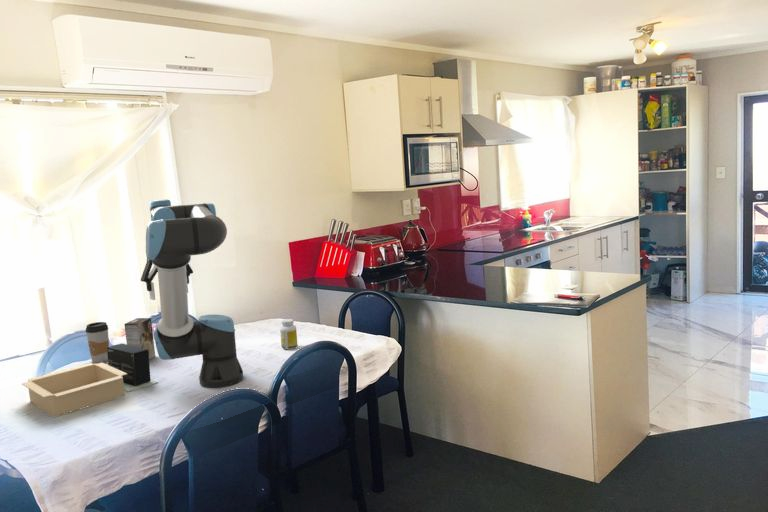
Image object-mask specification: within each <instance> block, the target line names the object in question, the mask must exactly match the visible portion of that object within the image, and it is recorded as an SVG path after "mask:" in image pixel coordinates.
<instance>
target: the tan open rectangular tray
mask: <svg viewBox="0 0 768 512" xmlns="http://www.w3.org/2000/svg"><path fill="white" fill-rule="evenodd" d="M123 375H127V373H125V372H123V371H120V370H118V369H116V368H114V367H111V366H109V365H108V363H107V364H106V362H103V363H93V362H89V363H87V364H83V365H77V366H74V367H70V368H67V369H62V370H60V371H59V370H58V371H55V372H52V373H48V374H44V375H40V376H36V377H32V378H29V379H28V380H27V381H26V382H22V383H21V385H22V386H24V387H25V388H27V389H28V395H29V400H30V401H29V402H30V403H32V404H34V405H35V406H36V407H38V408H40V409H41V410H43V411H44V412H46V413H47V414H49V415H51V417H54V418H55V417H59V416H62V415H61V414H63V415H65V414H64V413H66V414H68V413H67V412H69V413H71V412H70V411H72V412H75V411H74V410H76V411H79V410H81V409H80V408H82V409H85V408H84V407H86V408H88V407H87V406H89V407H91V405H92V406H94V405H98V403H99V404H102V403H104V401H105V402H107V400H108V401H112V400H115V399H119V398H121V397H124V396H126V394H125V392H126V391H125V390H124V384H123ZM111 399H112V400H111ZM78 409H79V410H78Z"/></svg>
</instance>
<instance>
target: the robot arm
mask: <svg viewBox="0 0 768 512" xmlns="http://www.w3.org/2000/svg"><path fill="white" fill-rule="evenodd" d="M149 211H150V220H151V221H149V222H148V224H147V226H146V229H145V230H146V231H145V254H146V255H145V256H146V263H145V266H144V269H143V271H142V274H141V278H140V282H144V283H145V284H146V291H147V292H148V293H149V299H150V300H152V301H155V300H156V294H155V293H156V292H155V283H154V282H153V280H154V278H155V277H156V275H157V277H158V279H157V280H158V291H159V293H158V294H159V303H160V311H161V313H160V316H161V317H160V319H159V320H158V323H157V325H156V326H155V327H152V332H153V340H154V344H155V347H156V352H157V355H158V357H159V359H161V360H163V361H169V360H176V359H182V358H188V357H189V358H190V357H194V356H195V357H196V356H202V364H201V368H200V373H199V376H198V377H199V378H198V380H199V384H200V385H201V387H206V388H223V387H229V386H232V385H236V384H238V383H240V382H242V381H243V379H244V371H243V368H242V366H241V364H240V361H239V359H238V356H237V343H236V333H235V332H236V329H235V323H234V319H233V318H232V317H230V316H227V315H223V314H205V315H201V316H199V318H198V320H197V321H194V320H193V318H192V317H191V316H190V315H189V299H188V298H189V297H188V294H189V284H190V276H191V274H193V273H194V270H193V269H192V267H191V265H190V261H191V260H192V259H191V258H192V256H198V255H199V256H200V255H206V254H207V253H211V252H213V251H214V250H216V249H218V248H219V247H220V246H222V244H223V243H224V242H225V239H226V238H227V234H228V230H227V229H228V228H227V225H226V223H225V222H224V221H223V220H222V218H220V217H219V216H217V212H216V206H215V204H214V203H205V202H204V203H198V204H197V203H195V204H184V205H181V204H180V205H172V203H171V200H170V199H166V198H165V199H164V198H163V199H154V200H153V199H152V200H151V201H150V202H149ZM152 266H153V267H152Z"/></svg>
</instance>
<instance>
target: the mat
mask: <svg viewBox="0 0 768 512" xmlns="http://www.w3.org/2000/svg"><path fill="white" fill-rule="evenodd" d="M150 379H151V381H149V382H146V383H143V384H140V385H137V386H134V385H131V384H127V383H124V382H123V384H124V392H127V393H129V392H132V391H136V390H139V389H142V388H145V387H150V386H153V385H156V384H159V381H157V380H155V379H152V378H150Z"/></svg>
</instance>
